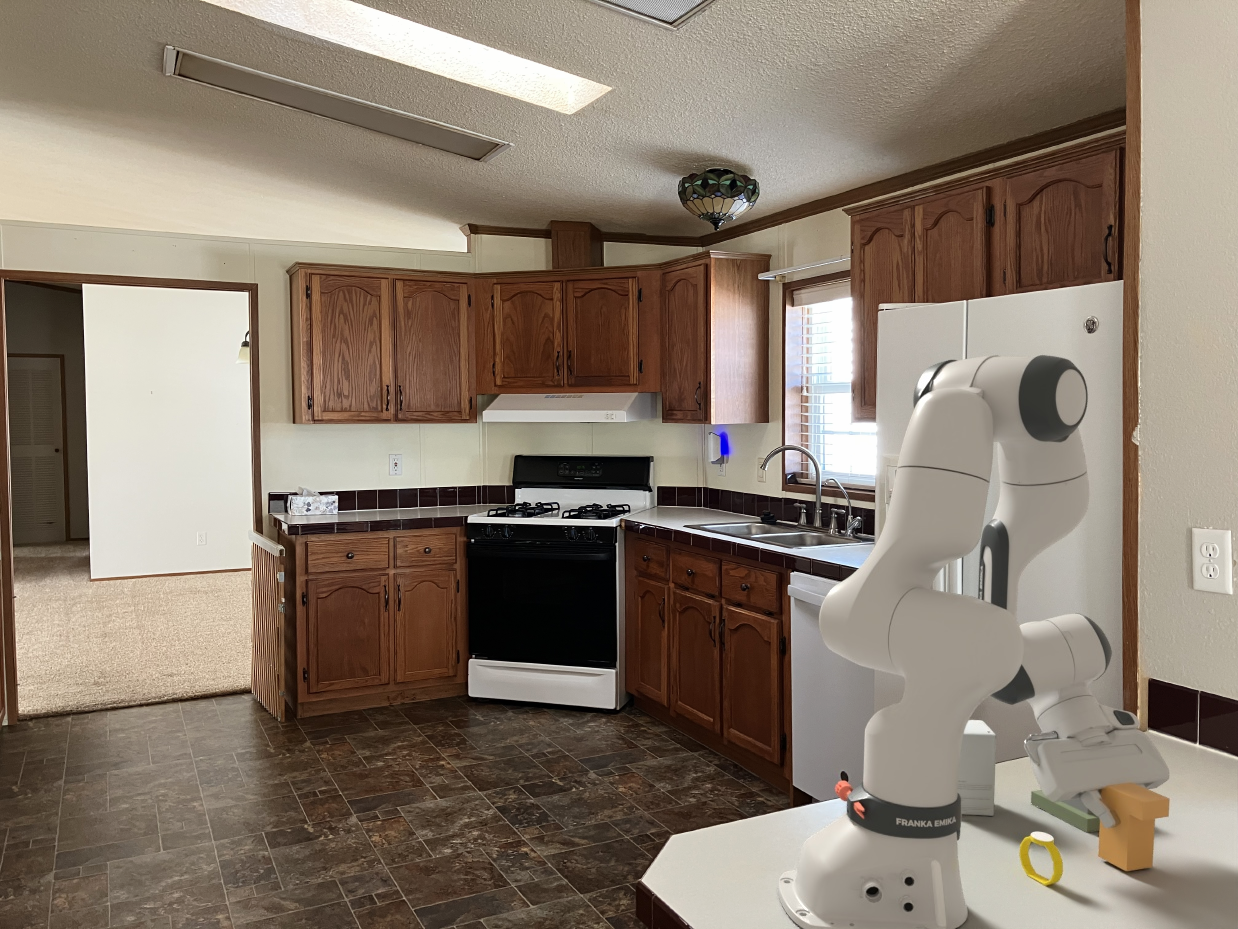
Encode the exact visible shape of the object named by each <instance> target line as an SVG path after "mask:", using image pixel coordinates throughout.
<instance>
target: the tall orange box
mask: <svg viewBox="0 0 1238 929" xmlns="http://www.w3.org/2000/svg"><path fill="white" fill-rule="evenodd" d="M1101 802H1102V803H1103V804H1104V805H1105V806H1106V807H1107V808H1108V809H1109V810H1110V811H1112V810H1115V811H1116V813H1117V815H1118V817H1119V818H1120V820H1121V823H1120V825H1118V826H1117V827H1114V828H1108V829H1107V828H1105V827H1104V826H1103V824H1102V822H1101V820H1100V830H1099V833H1098V835H1099V836H1098V852H1097V856H1098V857H1099V858H1101V859H1102V860H1104V861H1106V862H1108V863H1110V864H1112V865H1113V866H1116V867H1117V868H1119V869H1121V870H1123V871H1124V872H1130V871H1137V870H1142V869H1148V868H1153V865H1154V848H1155V846H1154V844H1155V830H1156V829H1155V827H1156V819H1163V818H1169V814H1170V798H1169V797H1166V796H1164V795H1162V794H1159V793H1157V792H1156V791H1152V789H1146V788H1144V787H1141V786H1139V785H1137V784H1134V783H1124V784H1117V785H1109V786H1106V788H1105V789H1101Z"/></svg>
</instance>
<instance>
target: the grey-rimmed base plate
mask: <svg viewBox="0 0 1238 929" xmlns="http://www.w3.org/2000/svg"><path fill="white" fill-rule="evenodd" d="M1099 800H1100V801H1101V799H1099ZM1031 803H1032V804H1033V806H1034V805H1035V806H1034V807H1036V806H1038V807H1040V808H1041V809H1040V808H1039V809H1040V810H1042V809H1043V811H1044V810H1045V811H1044V812H1046V811H1047V812H1046V813H1048V814H1051V815H1052V814H1053V815H1052V816H1054V817H1056V818H1058V819H1059V818H1060V819H1059V820H1061V819H1062V821H1063V820H1064V822H1065V823H1068V824H1070V825H1071V826H1073V827H1075V828H1077V829H1079V830H1081V831H1083V832H1084V833H1092V832H1093V831H1094V832H1098V831H1099V830H1100V819H1099V817H1097V816H1096V815H1095V814H1094V813H1093V812H1091V811H1090V810H1089V809H1088V808H1087V807H1085V805H1084V803H1083V802H1082V800H1081V799H1074V800H1066V801H1059V802H1052V801H1050V800H1049V799H1048V798H1047V797H1045V796H1044V794H1043V792H1042V790H1041V789H1038V790H1037V789H1036V790H1032V791H1031V793H1030V804H1031ZM1032 804H1031V805H1032ZM1038 807H1037V808H1038Z"/></svg>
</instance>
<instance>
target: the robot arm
mask: <svg viewBox="0 0 1238 929" xmlns="http://www.w3.org/2000/svg"><path fill="white" fill-rule="evenodd" d="M914 386H915V387H914V390H913V397H912V399H913V400H912V402H913V412H912V414H911V416H910V419H909V422H908V424H907V428H906V430H905V434H904V437H903V440H902V443H901V447H900V452H899V456H898V460H897V465H896V470H895V476H894V481H893V486H892V487H893V488H892V492H891V495H890V496H891V497H890V500H889V504H888V509H887V512H886V517H885V521H884V524H883V528H882V531H881V533H880V536H879V537H878V539H877V542H876V544H875V545H874V547H873V549H872V551H871V552H870V554H869V555H868V556H867V557H866V559H865V560H864V562H863V563H862V564H861V565H860V567H859V568H857V570H856V571H854V572H853V573H852V574H851V575H850V576H848V577H846V578H845V579H844V580H842V581H840V582H838V583H837V584H835V585H834V586H833V587H832V588H831V589H830V590H829V591H828V592H827V594H826V596H825V598H824V599H823V601H822V603H821V605H820V606H821V607H820V610H819V615H818V616H819V617H818V625H819V632H820V636H821V638H822V640H823V641H822V642H823V643H824V645H825V646H826V647H827V648H828V649H829V650H830V651H832V652H833V653H835V654H837V655H838V656H841V657H842V658H844V659H846V660H848V661H850V662H852V663H854V664H856V665H859V666H861V667H864V668H868V669H871V670H875V671H876V670H877V671H880V672H883V673H889V674H891V675H896V676H900V677H902V678H904V691H903V695H902V698H901V700H900V701H899V702H896V703H893V704H891V705H889V706H886V707H884V708H883V707H882V708H881V709H880V710H878V711H877V712H875V713H874V714H873V715H872V716H871V718H870V719H869V720H868V722H867V724H866V726H865V729H864V745H863V746H864V747H863V748H864V749H863V779H862V780H861V782H860V783H859V785H858V786H856V787H855V788H853V787H852V785H851V784H850V783H849V782H848V781H846V780H840V781H838V782H837V784H835V787H834V790H835V791H834V792H835V793H836V794H837V796H838V797H839V799H840V800H841V801H843V802H846V812H845V813H844V814H842V815H841V816H840V817H837V818H836V819H835V820H834V821H832V822H831V823H829V824H827V825H826V826H824V827H823V828H821V829H820V830H818V831H817V832H815V833H814V834H812V835H810V836H809V837H808V838H806V840H805V841H804V843H803V844H802V845H801V849H800V852H799V856H798V861H797V865H796V866H797V867H796V869H794V870H793V869H792V870H785V871H784V872H783V873H781V875H780V876H779V879H778V885H777V895H778V898H779V900H780V904H781V905H782V907H783V909H784V911H785V913H787V915H788V916H789V918H790V919H791V920H792V921H793V922H794V923H795V924H797V926H799V927H800V928H802V929H956V928H959V927H960V926H962V925H963V924H964V923H965V922H966V920H967V919H968V916H969V911H968V907H967V904H966V899H965V895H964V891H963V884H962V878H961V871H960V861H959V850H958V849H959V847H958V846H959V845H958V842H959V840H960V838H961V827H962V816H963V814H961V797H960V794H959V793H958V776H959V763H960V752H961V744H962V738H963V734H964V731H965V728H966V725H967V723H968V721H969V720H970V718H971V717H972V715H973V714H974V712H975V710H976V709H977V707H978V706H979V705H980V704H981V703H983V701H984V700H986V699H987V698H989V697H991V698H993V699H995V700H997V701H999V702H1001V703H1004V704H1008V705H1010V706H1013V705H1016V704H1018V703H1021V702H1024V701H1027V703H1028V704H1029V705H1030V706H1031V708H1032V710H1033V714H1034V718H1035V720H1036V723H1037V725H1038V727H1039V728H1040V730H1041V733H1031V734H1028V735H1027V738H1025V740H1024V743H1023V748H1024V750H1025V752H1026V754H1027V756H1028V758H1029V761H1030V764H1031V768H1032V771H1033V774H1034V776H1035V779H1036V781H1037V784H1038V786H1039V789H1040V790H1042V792H1043V794H1044V796H1045V797H1047V798H1048V799H1049V800H1050V801H1052V802H1059V801H1066V800H1074V799H1081V800H1082V802H1083V803H1084V805H1085V807H1087V808H1088V809H1089V810H1090V811H1091V812H1093V813H1094V814H1095V815H1096V816H1097V817H1099V819H1100V820H1101V822H1102V824H1103V826H1104V827H1105V828H1107V829H1108V828H1114V827H1117V826H1118V825H1120V823H1121V820H1120V818H1119V817H1118V815H1117V813H1116V811H1115V810H1112V811H1110V810H1109V809H1108V808H1107V807H1106V806H1105V805H1104V804H1103V803H1102V802H1101V801H1100V800H1099V799H1101V789H1105V788H1106V786H1109V785H1117V784H1124V783H1134V784H1137V785H1139V786H1141V787H1144V788H1146V789H1148V790H1153V789H1157V788H1159V787H1161V786H1162V785H1163V784H1165V783H1166V782H1167V781H1169V780H1170V769H1169V766H1168V765H1167V763H1166V760H1164V758H1163V756H1162V754H1161V753H1160V752H1159V750H1158V749H1157V746H1156V745H1155V744H1154V743H1153V741H1152V740H1151V738H1150V737H1149V736H1148V735H1147V734H1146V733H1145V732H1144V731H1142V730H1140V729H1138V728H1139V727H1140V726H1141V722H1140V720H1139V719H1138V717H1137V716H1136V715H1135V714H1134V713H1133V712H1130V711H1127V710H1122V709H1119V708H1115V707H1111V706H1110V705H1109V706H1108V705H1106V704H1102V703H1099V701H1098V700H1097V698H1096V696H1095V695H1094V694H1093V693H1092V691H1091V690H1090V688H1089V685H1090V684H1091V683H1092V682H1095V681H1097V680H1098V679H1100V678H1101V677H1103V675H1104V674H1105V673H1106V671H1107V669H1108V667H1109V665H1110V663H1111V659H1112V656H1113V651H1112V646H1111V644H1110V641H1109V639H1108V637H1107V636H1106V633H1104V631H1103V629H1102V628H1101V627H1100V626H1099V625H1098V624H1097V623H1096V622H1095V620H1092V619H1091V618H1089V617H1088V616H1086V615H1084V614H1082V613H1077V612H1076V613H1067V614H1062V615H1058V616H1054V617H1051V618H1046V619H1042V620H1040V621H1039V620H1038V621H1037V620H1035V621H1027V622H1024V623H1022V624H1019V623H1018V621H1017V619H1018V618H1017V616H1018V595H1019V592H1018V590H1019V581H1020V578H1021V576H1022V573H1024V570H1025V568H1026V567H1027V566H1028V565H1029V564H1030V563H1031V562H1032V561H1033V560H1034V559H1035V558H1036V557H1037V556H1038V555H1040V554H1041V553H1042V552H1045V550H1047V549H1048V548H1049V547H1051V546H1052V545H1054V544H1056V543H1058V542H1059V541H1061V540H1062V539H1064V538H1066V537H1067V536H1068V535H1069V534H1070V533H1072V532H1073V531H1074V530H1075V529H1076V528H1077V527H1078V526H1079V525H1080V523H1081V522H1082V521H1083V519H1084V518H1085V516H1086V514H1087V512H1088V509H1089V508H1088V507H1089V503H1090V483H1089V475H1088V467H1087V466H1088V465H1087V460H1086V459H1087V458H1086V454H1085V449H1084V445H1083V444H1084V443H1083V440H1082V437H1081V432H1080V430H1079V426H1080V425H1081V423H1082V421H1083V419H1084V417H1085V415H1086V412H1087V407H1088V401H1089V400H1088V399H1089V397H1088V396H1089V394H1088V393H1089V392H1088V386H1087V383H1086V379H1085V377H1084V375H1083V373H1082V371H1081V370H1080V369H1079V368H1078V367H1077V366H1076V365H1075V364H1074V363H1073V362H1072V361H1071V360H1070V359H1067V358H1065V357H1064V358H1063V357H1059V356H1056V355H1055V356H1054V355H1047V354H1042V355H1041V354H1040V355H1037V356H1023V355H1022V356H1021V355H1020V356H1019V355H1016V356H1015V355H1011V356H1009V355H1006V356H1005V355H1004V356H1002V355H998V354H997V355H996V354H995V355H984V356H983V355H982V356H978V357H976V356H975V357H971V358H970V357H969V358H965V359H959V360H957V359H948V360H945V361H941V362H938V363H935V364H932V365H930V366H929V367H927V368H926V369H925V370H924V371H923V373H922V374H921V375H920V377H919V379H918V380H917V382H916V384H915V385H914ZM995 442H996V444H997V445H996V446H997V447H996V448H997V452H996V453H997V467H998V476H999V485H1000V486H999V495H998V496H999V498H998V503H997V506H996V509H995V512H994V514H993V517H992V518H991V520H989V522H988V523H987V524H985V526H984V520H985V514H986V507H987V501H988V495H989V489H990V483H991V477H992V470H993V459H994V443H995ZM983 526H984V528H983ZM980 539H981V540H980ZM979 542H980V549H979V559H978V560H979V562H978V585H977V588H978V589H977V590H978V591H977V597H976V596H972V595H966V594H962V593H961V594H960V593H956V592H949V591H943V590H936V589H932V585H933V583H934V580H935V579H936V577H937V576H938V574H939V572H941V570H942V569H943V568H944V567H946V565H948V564H949V563H952V562H953V561H957V560H959V559H963V558H964V557H966V556H968V555H970V553H972V552H973V551H974V550H975V549H976V547H977V545H978V544H979Z"/></svg>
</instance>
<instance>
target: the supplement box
mask: <svg viewBox="0 0 1238 929" xmlns="http://www.w3.org/2000/svg"><path fill="white" fill-rule="evenodd" d="M996 753H997V735H996V733H995V731H993V730H992V729H991V728H990V726H988V725H987V724H986V722H984V721H983V720H977V719H969V721H968V723H967V725H966V728H965V731H964V734H963V738H962V744H961V752H960V763H959V776H958V793H959V794H960V797H961V815H969V816H971V815H972V816H988V817H989V816H991V817H992V816H994V814H995V790H996V784H995V783H996V757H997V754H996Z"/></svg>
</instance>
